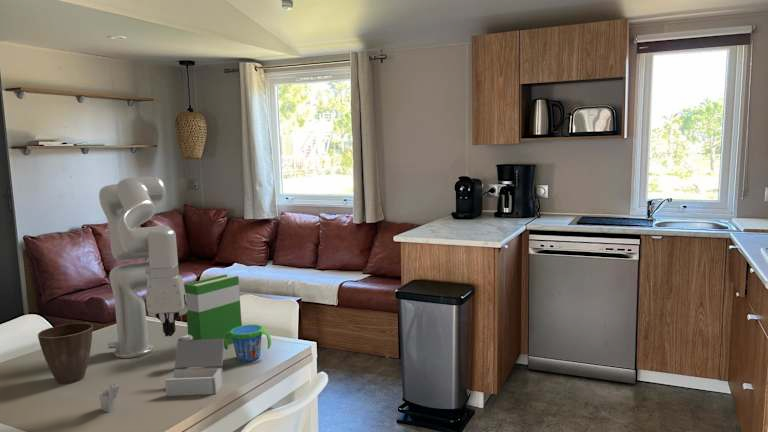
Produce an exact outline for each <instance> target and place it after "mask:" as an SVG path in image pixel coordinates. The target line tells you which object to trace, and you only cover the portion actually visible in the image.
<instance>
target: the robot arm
mask: <svg viewBox="0 0 768 432" xmlns="http://www.w3.org/2000/svg"><path fill="white" fill-rule="evenodd" d="M165 197H166V185H165V183H164V182H163V180H162V179H161V178H160V177H157V176H151V175H149V176H133V177H126V178H122V179H121V180H119V181H118V183H115V184H114V183H113V184H108V185H105V186H103V187H101V188H100V190H99V193H98V198H99V203H100V207H101V209H102V211H103V214H104V215H105V217H106V219H107V222H108V230H109V231H108V232H109V241H110V249H111V254H112V255H111V256H112V257H113V258H114V259H115V260H116V261H120V262H121V261H123V262H124V261H130V260H138V259H139V260H140V259H146V260H147V261H141V262H132V263H124V264H119V265H116V266H115V267H113V268H112V269H110V272H109V276H108V277H109V283H110V286H111V289H112V290H111V291H112V293H113V294H112V295H113V300H114V307H115V319H116V329H117V331H116V332H117V341H115V340H112V341H111V340H110V341H108V343H107V347H108V349H115V351H114V356H115V357H117V358H119V359H130V358H131V359H132V358H137V357H141V356H145V355H147V354H150V353H151V352H152V351H154V344H152V343H149V335H148V326H147V325H148V324H147V314H148V316H149V317H154V318H156V319H158V320H159V321H160V323H161V324H162V331H163V334H164V337H172V336H173V335H174V334H175V333H176V320H177V319H178V317H179V316H181V317H182V316H184V315H187V314H186V313H187V308H186V305H187V301H186V293H185V288H184V284H185V283H184V281H183V277H182V275H180V273H179V272H180V270H179V260H178V259H179V258H178V245H177V235H176V232H175V230H174V229H173V228H171V227H170V226H169V225H155V226H154V225H153V226H145V227H138V226H141V225H143V224H144V223H146V222H148V221H149V220H151V218H153V216H154V215H155V213H156V212H155V211H156V205H158V204H159V203H160V204H161V202H162V201H164V199H165ZM145 289H146V296H145V297H146V300H144V298H143V297H142V296H141V295H140V294H139V293H137V291H140V290H145ZM145 302H146V303H145ZM168 314H169V317H168Z"/></svg>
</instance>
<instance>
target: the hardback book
mask: <svg viewBox="0 0 768 432" xmlns="http://www.w3.org/2000/svg"><path fill="white" fill-rule="evenodd" d="M183 284H184V288H185V293H186V301H187V305H186V308H187V313H186V314H185V315H186V325H187V335H192V337H195V340H202V339H224V338H225V336H226V334H227V333H228V332H230V331H231V330H232V329H234V328H236V327H239V326H243V324H242V307H241V296H240V278H239V275H237V276H232V277H231V276H228V274H222V275H217V276H214V277H209V278H206V279H205V278H204V279H201V280H198V281H197V280H196V281H193V282H189V283H183ZM227 344H228V346H231V345H234V344H233V339H232V337H231V335H230V334H229V335H228V337H227Z"/></svg>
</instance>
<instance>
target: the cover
mask: <svg viewBox="0 0 768 432" xmlns="http://www.w3.org/2000/svg"><path fill="white" fill-rule="evenodd" d="M224 350H225V348H224V339H202V340H179V339H177V345H176V353H175V361H174V362H175V363H174V368H175V369H184V368H183V367H186V368H208V367H222V366H223V363H224V361H223V360H224Z"/></svg>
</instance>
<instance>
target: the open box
mask: <svg viewBox="0 0 768 432" xmlns="http://www.w3.org/2000/svg"><path fill="white" fill-rule="evenodd" d="M223 372H224V371H223V367H222V366H216V367H192V368H175V369H174V370H173V376H174V378H166V379H165V382H164V383H165V393H166V397H174V396H175V397H176V396H196V395H197V396H199V395H200V396H201V395H216V394H217V393H218V392H219V390H220V389H221V388H222V386H223V384H224V377H223V376H224V375H223V374H224V373H223Z"/></svg>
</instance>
